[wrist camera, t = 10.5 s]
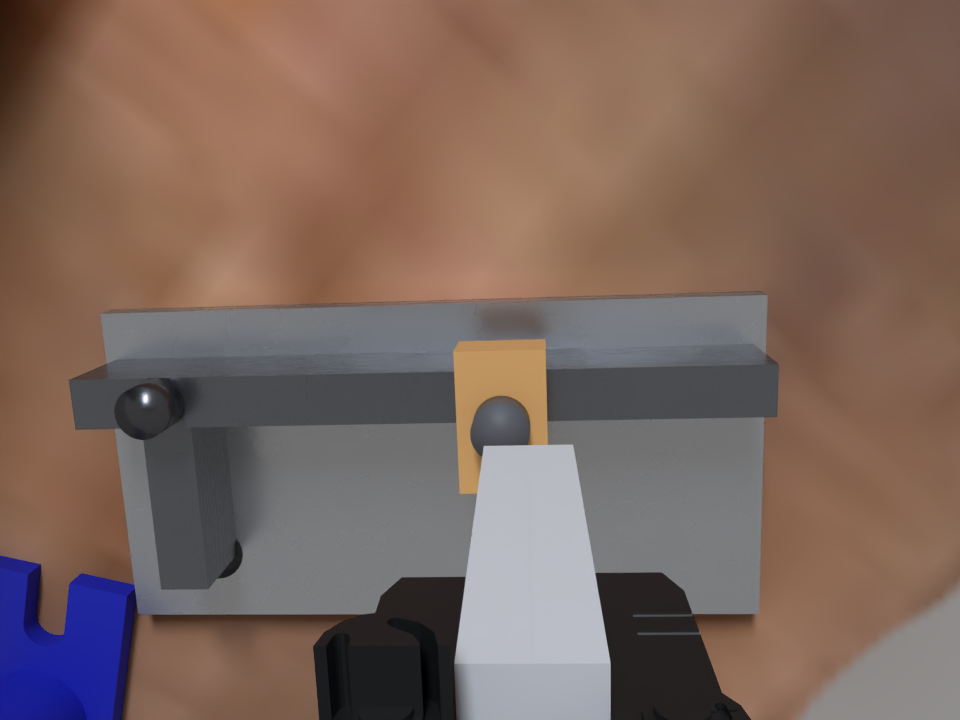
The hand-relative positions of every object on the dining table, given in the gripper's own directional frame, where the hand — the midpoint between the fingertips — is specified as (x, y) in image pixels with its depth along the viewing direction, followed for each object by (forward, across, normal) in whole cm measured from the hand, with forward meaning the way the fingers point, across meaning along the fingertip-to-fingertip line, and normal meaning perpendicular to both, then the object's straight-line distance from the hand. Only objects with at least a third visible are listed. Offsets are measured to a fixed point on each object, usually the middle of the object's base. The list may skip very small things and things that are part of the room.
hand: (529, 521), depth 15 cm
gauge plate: (+23, -4, -7) cm, 25 cm away
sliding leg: (+22, -1, -6) cm, 23 cm away
